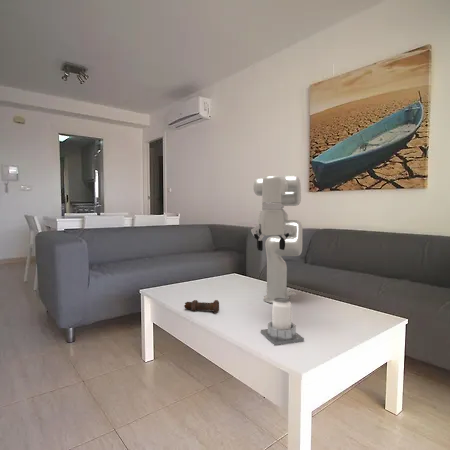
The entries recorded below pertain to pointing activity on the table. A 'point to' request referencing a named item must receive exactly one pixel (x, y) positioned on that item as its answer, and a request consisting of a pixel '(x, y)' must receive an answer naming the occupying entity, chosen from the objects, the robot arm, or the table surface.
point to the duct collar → (281, 335)
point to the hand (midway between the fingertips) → (271, 249)
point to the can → (281, 314)
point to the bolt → (202, 306)
